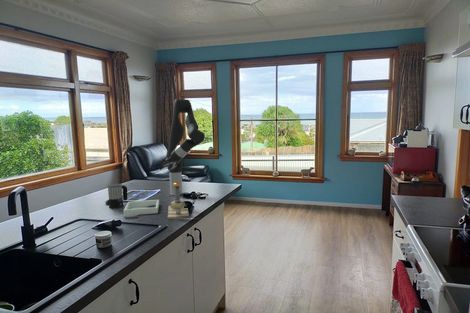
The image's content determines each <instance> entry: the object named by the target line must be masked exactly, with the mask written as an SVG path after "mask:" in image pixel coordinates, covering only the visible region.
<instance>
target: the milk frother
mask: <svg viewBox="0 0 470 313" xmlns="http://www.w3.org/2000/svg"><path fill="white" fill-rule="evenodd" d="M107 192H108V200H106V201H105V202H104V203H105V205H107V206H108V208H109V209H119V208H123V207H124V206H125V205H124V201H128V188H127V186H126V185H124V184H122V183H111V184H108V185H107Z"/></svg>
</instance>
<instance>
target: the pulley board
mask: <svg viewBox="0 0 470 313" xmlns="http://www.w3.org/2000/svg"><path fill="white" fill-rule="evenodd" d="M185 204H186V203H185V201H184V200H181V199H180V200H177V201H175V200H172V201H171V202H170V205H168V207H167V208H168V210H167V220H177V218H179V219H189V218H190V217H189V216H190V214H189V209H188V208H184V206H185Z"/></svg>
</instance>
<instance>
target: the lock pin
mask: <svg viewBox="0 0 470 313" xmlns="http://www.w3.org/2000/svg"><path fill="white" fill-rule="evenodd" d="M173 186H174V187H175V195H174V198H175V200H174V201H177V200H180V201H181V197H180V196H181V195H180V190H179V186H181V183H173Z"/></svg>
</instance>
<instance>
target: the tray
mask: <svg viewBox="0 0 470 313" xmlns="http://www.w3.org/2000/svg"><path fill="white" fill-rule="evenodd" d="M150 206H152V207H150ZM153 206H154V207H153ZM159 207H160V199H150V200H148V199H147V200H135V201H128V202H127V203H126V205H125V207H124V208H123V218H134V217H137V216H138V215H147V214H148V215H150V214H158V213H159Z"/></svg>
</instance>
